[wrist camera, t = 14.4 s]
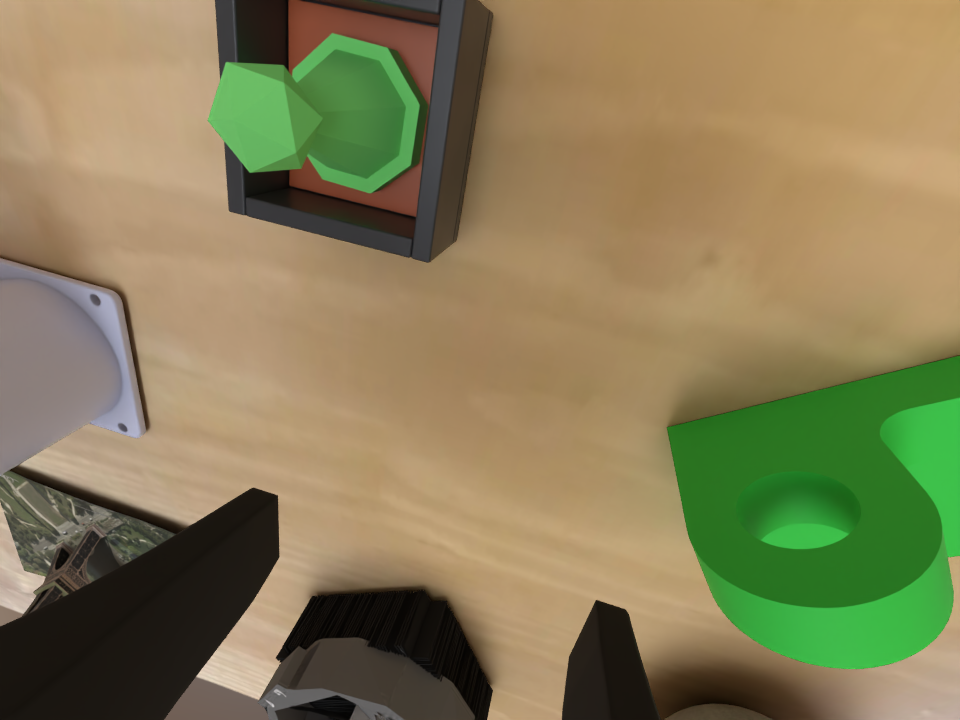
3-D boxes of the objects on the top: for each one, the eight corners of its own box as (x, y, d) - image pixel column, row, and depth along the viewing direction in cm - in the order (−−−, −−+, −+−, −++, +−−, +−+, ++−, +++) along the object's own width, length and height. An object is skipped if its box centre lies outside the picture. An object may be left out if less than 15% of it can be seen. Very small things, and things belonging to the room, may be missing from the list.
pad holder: (284, 197, 18) (227, 211, 15) (281, -28, 14) (209, -61, 12) (456, 241, 17) (429, 263, 14) (493, 13, 14) (467, -12, 11)
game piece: (441, 181, 15) (357, 214, 10) (322, 199, 17) (192, 236, 11) (413, 20, 14) (293, -41, 8) (282, 52, 15) (105, 17, 10)
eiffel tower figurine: (215, 534, 28) (-70, 838, 16) (226, 638, 32) (13, 929, 21) (-8, 456, 29) (-412, 681, 18) (34, 566, 34) (-262, 799, 22)
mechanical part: (711, 543, 20) (767, 770, 13) (667, 427, 18) (705, 620, 11) (1107, 483, 16) (1518, 784, 9) (1102, 320, 14) (1622, 533, 7)
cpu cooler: (489, 828, 23) (320, 806, 27) (510, 703, 28) (365, 698, 32) (406, 692, 20) (223, 687, 23) (446, 576, 25) (291, 586, 28)
